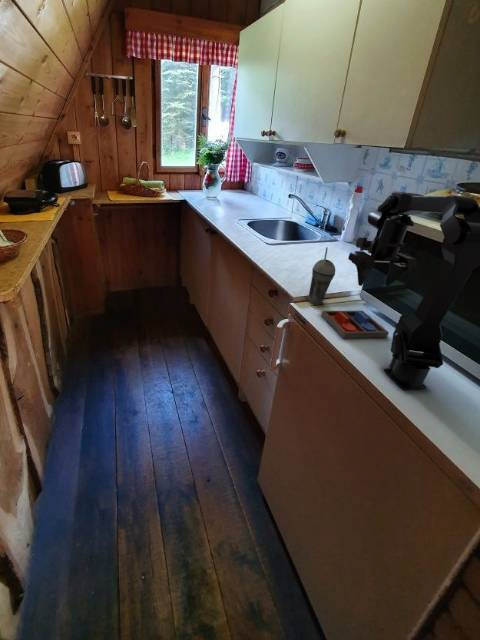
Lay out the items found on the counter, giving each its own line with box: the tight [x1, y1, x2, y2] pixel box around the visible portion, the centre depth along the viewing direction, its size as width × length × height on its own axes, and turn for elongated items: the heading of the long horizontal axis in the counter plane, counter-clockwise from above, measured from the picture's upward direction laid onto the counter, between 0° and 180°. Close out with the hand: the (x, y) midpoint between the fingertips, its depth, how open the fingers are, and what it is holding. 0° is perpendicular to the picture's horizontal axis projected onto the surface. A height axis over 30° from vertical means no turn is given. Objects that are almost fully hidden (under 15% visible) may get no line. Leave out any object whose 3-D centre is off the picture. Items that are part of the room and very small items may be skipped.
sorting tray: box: [320, 310, 390, 340], centre depth 94 cm, size 12×15×2 cm
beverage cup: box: [308, 246, 336, 305], centre depth 103 cm, size 7×7×20 cm
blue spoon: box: [354, 310, 376, 331], centre depth 94 cm, size 8×4×3 cm, turn 10°
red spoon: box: [335, 310, 356, 332], centre depth 92 cm, size 8×4×3 cm, turn 10°
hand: (373, 285), depth 92 cm, fingers open, 9 cm apart
